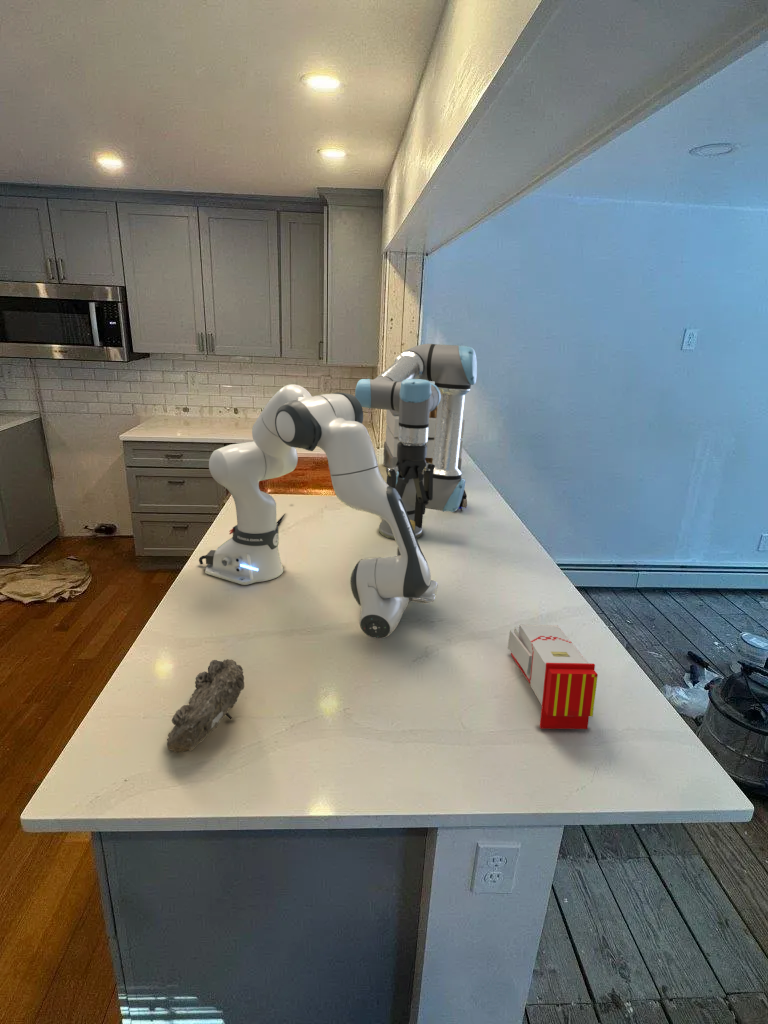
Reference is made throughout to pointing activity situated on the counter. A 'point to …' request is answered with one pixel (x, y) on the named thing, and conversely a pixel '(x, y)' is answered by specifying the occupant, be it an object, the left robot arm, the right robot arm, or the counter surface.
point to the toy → (555, 675)
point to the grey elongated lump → (206, 705)
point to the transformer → (392, 441)
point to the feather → (280, 520)
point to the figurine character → (463, 501)
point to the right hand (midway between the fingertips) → (407, 528)
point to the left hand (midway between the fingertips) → (405, 573)
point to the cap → (413, 524)
